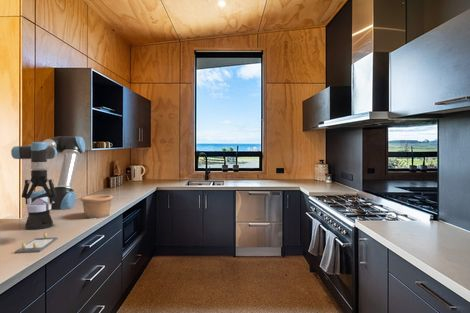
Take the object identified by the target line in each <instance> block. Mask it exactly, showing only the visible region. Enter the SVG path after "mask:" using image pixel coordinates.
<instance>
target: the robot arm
mask: <svg viewBox="0 0 470 313" xmlns="http://www.w3.org/2000/svg"><path fill="white" fill-rule="evenodd" d="M85 152H86V143H85V140H84V138H83V137H82V136H55V137H50V138H46V139H44V140H43V141H33V142H31V143H30V144H26V145H18V146H16V145H15V146H13V147H12V148H11V150H10V153H11V157H12V159H15V160H30V169H31V171H30V176H31V177H30V179H25V180H24V187H23V190H22V194H21V198H24V199H25V205H26V206H27V205H30V204H31V203H32V202H34V201H35V200H36V199H38V198H43V197H48V204H47V210H46V211H43V212H32V213H30V212H27V218H26V222H25V225H24V227H25V230H31V231H32V230H42V229H47V228H51V227H53V226H54V220H53V218H52V216H51V212H50V211H66V210H71V209H72V208H74V206H75V204H76V200H77V194H76V192H75V190H74V189H73V184H74V179H75V174H76V170H77V163H78V159H79V158H80V157H81V156H82V154H84V153H85ZM58 153H60V154H62V155H63V160H62V163H61V164H62V165H61V169H60V173H59V177H58V181H57V186H55V185H54V179H53V178H52V179H51V178H49V179H48V170H47V169H48V161H47V160H52V159H54V158H56V157H57V155H58ZM47 183H48V184H47ZM30 184H31V185H30ZM48 185H49V186H48ZM37 187H41V188H43V189H40V190H36V191H35V189H36V188H37ZM53 202H55V203H53Z"/></svg>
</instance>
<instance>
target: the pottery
mask: <svg viewBox="0 0 470 313" xmlns="http://www.w3.org/2000/svg"><path fill="white" fill-rule="evenodd" d="M113 199H114V196H113V195H112V194H90V195H85V196H82V197H80V201H81V202H82V208H83V212H84V218H86V219H89V218H96V219H102V218H107V217H109V216H110V213H111V207H112V206H111V205H112V200H113Z"/></svg>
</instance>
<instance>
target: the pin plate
mask: <svg viewBox="0 0 470 313" xmlns="http://www.w3.org/2000/svg"><path fill="white" fill-rule="evenodd" d="M57 240H59V239H58V237H57V236H56V237H54V236H53V237H48V233H47V232H44V233H43V237H37V238H34V239H32V240H31V241H29V242H28V243H26V242H24V243H23V242H22V243H21V247H20V248H18V249H16V250H15V251H14V252H15V253H14V254H24V253H26V254H28V253H29V254H30V253H40V252H43V250H45V249H46V248H47V247H49V246H50V245H51V244H53V243H54V242H55V241H57Z"/></svg>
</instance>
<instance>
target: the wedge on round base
mask: <svg viewBox="0 0 470 313" xmlns="http://www.w3.org/2000/svg"><path fill="white" fill-rule="evenodd" d="M53 203H55V202H53ZM47 204H48V197H43V198H38V199H36V200H35V201H34V202H32V203H31V204H30V205H27V204H26V208H27V209H26V210H27V211H26V212H27V213H28V212H30V213H32V212H43V211H46V210H47Z"/></svg>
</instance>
